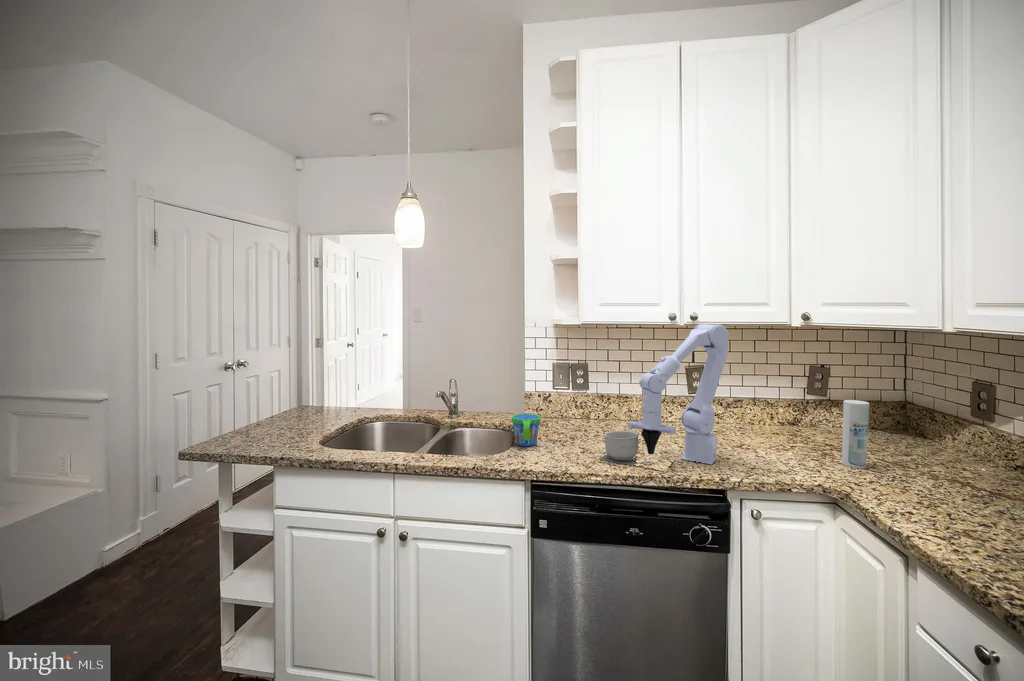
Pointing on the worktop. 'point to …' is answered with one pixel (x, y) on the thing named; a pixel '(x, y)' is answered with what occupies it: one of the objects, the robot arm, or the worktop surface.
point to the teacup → (621, 444)
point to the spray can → (855, 433)
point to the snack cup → (526, 429)
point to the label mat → (627, 462)
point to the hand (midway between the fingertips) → (651, 453)
